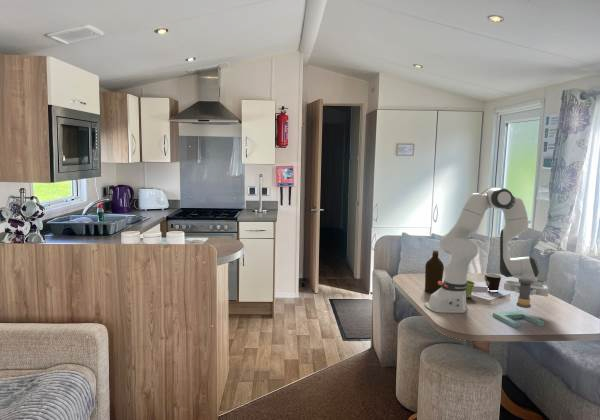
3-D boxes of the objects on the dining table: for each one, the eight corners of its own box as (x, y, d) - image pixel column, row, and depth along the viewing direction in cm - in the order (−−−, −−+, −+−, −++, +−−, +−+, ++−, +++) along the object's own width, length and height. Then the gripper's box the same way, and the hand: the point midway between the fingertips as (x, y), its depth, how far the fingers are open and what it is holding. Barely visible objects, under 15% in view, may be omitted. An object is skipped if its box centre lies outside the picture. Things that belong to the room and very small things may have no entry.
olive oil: (440, 295, 270) (443, 253, 267) (422, 292, 274) (424, 251, 271) (443, 290, 279) (446, 250, 276) (425, 287, 284) (428, 248, 281)
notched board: (514, 327, 221) (514, 323, 221) (492, 316, 237) (492, 312, 236) (543, 325, 225) (543, 321, 225) (520, 314, 241) (520, 310, 241)
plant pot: (471, 300, 262) (472, 285, 261) (454, 297, 267) (456, 282, 266) (475, 296, 270) (476, 281, 269) (458, 293, 275) (459, 279, 274)
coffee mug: (501, 294, 276) (502, 277, 275) (486, 292, 278) (487, 276, 276) (497, 288, 287) (498, 273, 286) (482, 287, 289) (483, 272, 288)
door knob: (522, 308, 223) (524, 282, 222) (513, 304, 229) (515, 278, 228) (533, 307, 225) (536, 281, 223) (524, 303, 231) (526, 278, 229)
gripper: (505, 276, 242) (502, 282, 230) (549, 282, 232) (548, 289, 220) (504, 288, 243) (501, 294, 231) (548, 294, 233) (547, 302, 221)
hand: (524, 292), depth 225 cm, fingers closed on door knob, 5 cm apart
